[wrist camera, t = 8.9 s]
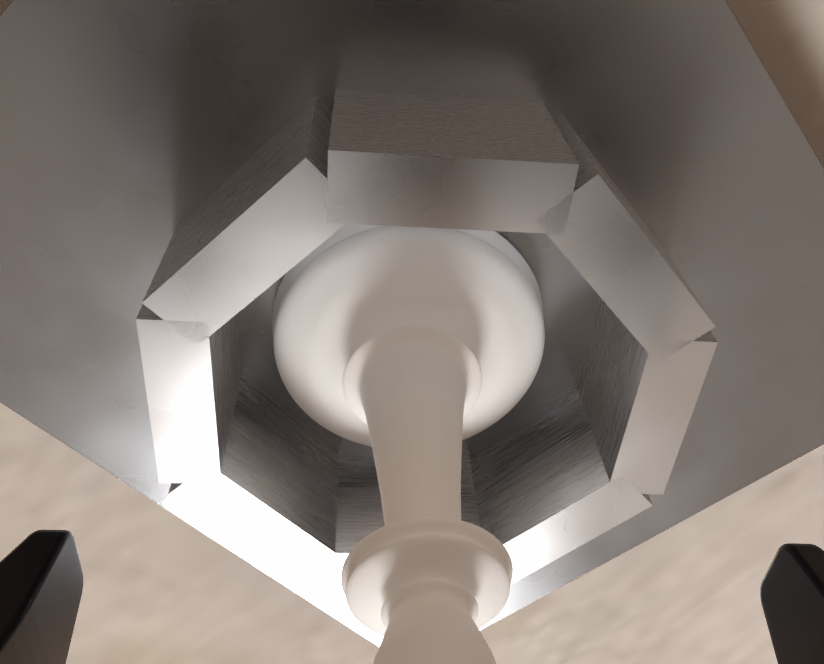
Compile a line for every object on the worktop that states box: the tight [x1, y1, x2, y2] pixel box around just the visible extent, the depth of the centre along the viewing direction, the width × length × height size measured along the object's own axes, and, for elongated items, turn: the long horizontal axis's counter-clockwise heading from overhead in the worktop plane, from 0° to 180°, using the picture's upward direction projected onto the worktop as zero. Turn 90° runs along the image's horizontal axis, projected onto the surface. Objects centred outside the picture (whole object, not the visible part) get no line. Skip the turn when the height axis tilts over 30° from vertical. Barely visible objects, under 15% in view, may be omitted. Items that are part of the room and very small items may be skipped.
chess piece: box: [272, 224, 545, 664], centre depth 10 cm, size 5×5×10 cm
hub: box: [0, 0, 824, 647], centre depth 14 cm, size 16×14×4 cm
